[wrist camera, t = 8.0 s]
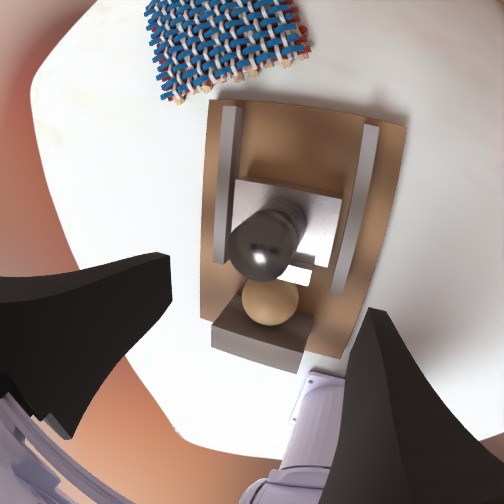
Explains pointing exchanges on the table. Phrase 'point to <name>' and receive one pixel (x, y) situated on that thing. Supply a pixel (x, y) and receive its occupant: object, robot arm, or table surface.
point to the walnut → (270, 301)
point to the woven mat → (220, 41)
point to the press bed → (305, 174)
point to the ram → (281, 229)
